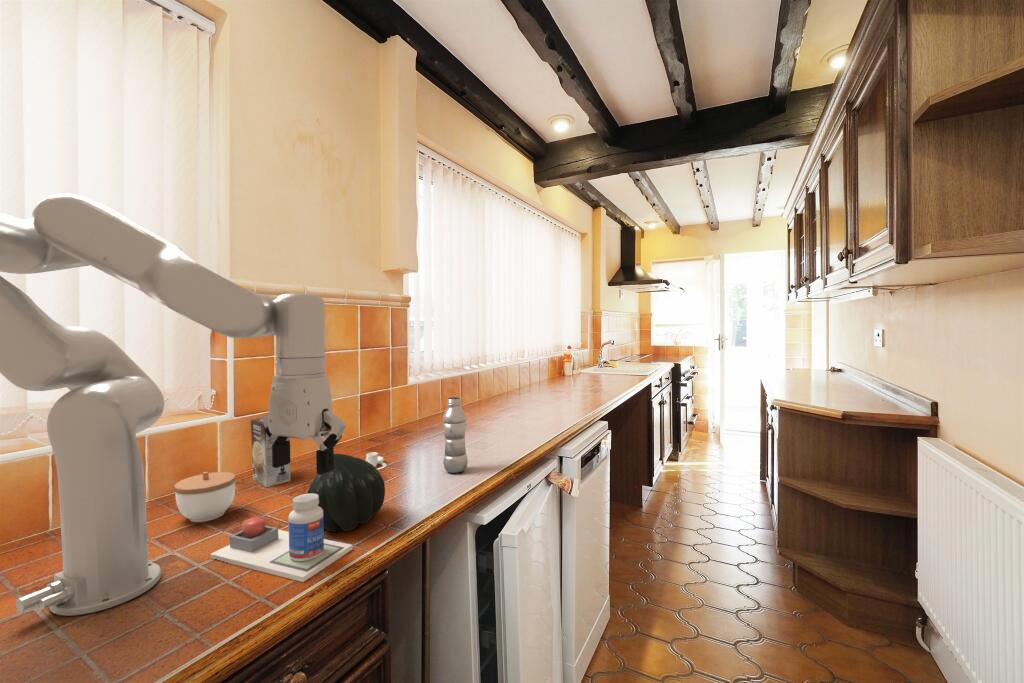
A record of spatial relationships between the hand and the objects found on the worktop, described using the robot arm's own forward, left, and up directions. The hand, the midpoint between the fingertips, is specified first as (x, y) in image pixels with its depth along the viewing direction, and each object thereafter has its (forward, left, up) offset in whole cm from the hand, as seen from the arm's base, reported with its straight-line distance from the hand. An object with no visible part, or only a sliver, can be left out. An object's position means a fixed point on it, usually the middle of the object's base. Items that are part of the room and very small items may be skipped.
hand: (302, 468), depth 76 cm
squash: (+14, +4, -16) cm, 22 cm away
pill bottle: (0, 0, -15) cm, 15 cm away
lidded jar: (+7, +34, -16) cm, 38 cm away
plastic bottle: (+50, -2, -16) cm, 52 cm away
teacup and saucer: (+48, +21, -16) cm, 55 cm away
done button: (0, +12, -13) cm, 18 cm away
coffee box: (+28, +40, -16) cm, 51 cm away
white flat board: (0, +5, -16) cm, 17 cm away
